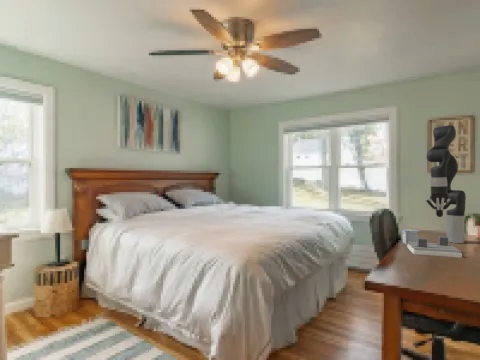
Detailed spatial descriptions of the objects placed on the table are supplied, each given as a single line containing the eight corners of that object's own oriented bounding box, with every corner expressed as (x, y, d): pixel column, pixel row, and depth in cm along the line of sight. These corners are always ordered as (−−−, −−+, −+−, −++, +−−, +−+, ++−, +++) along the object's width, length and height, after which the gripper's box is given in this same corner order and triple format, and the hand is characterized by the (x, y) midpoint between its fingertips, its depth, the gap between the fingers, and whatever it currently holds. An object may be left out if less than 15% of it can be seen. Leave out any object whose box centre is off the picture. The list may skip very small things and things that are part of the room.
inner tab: (438, 246, 164) (438, 236, 164) (446, 246, 163) (446, 236, 163) (439, 247, 162) (439, 237, 161) (448, 247, 160) (448, 237, 160)
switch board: (407, 247, 172) (407, 241, 172) (450, 250, 164) (450, 244, 164) (413, 254, 157) (413, 247, 157) (462, 257, 149) (461, 250, 149)
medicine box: (415, 243, 182) (415, 229, 182) (419, 244, 178) (419, 230, 178) (402, 242, 183) (402, 229, 183) (405, 244, 179) (405, 230, 179)
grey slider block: (417, 248, 161) (417, 237, 161) (425, 248, 159) (425, 238, 159) (418, 249, 158) (418, 238, 158) (427, 249, 157) (426, 239, 157)
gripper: (450, 184, 159) (451, 215, 160) (423, 185, 164) (423, 215, 164) (455, 185, 152) (456, 218, 153) (426, 186, 157) (427, 217, 157)
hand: (439, 216), depth 158 cm, fingers closed
